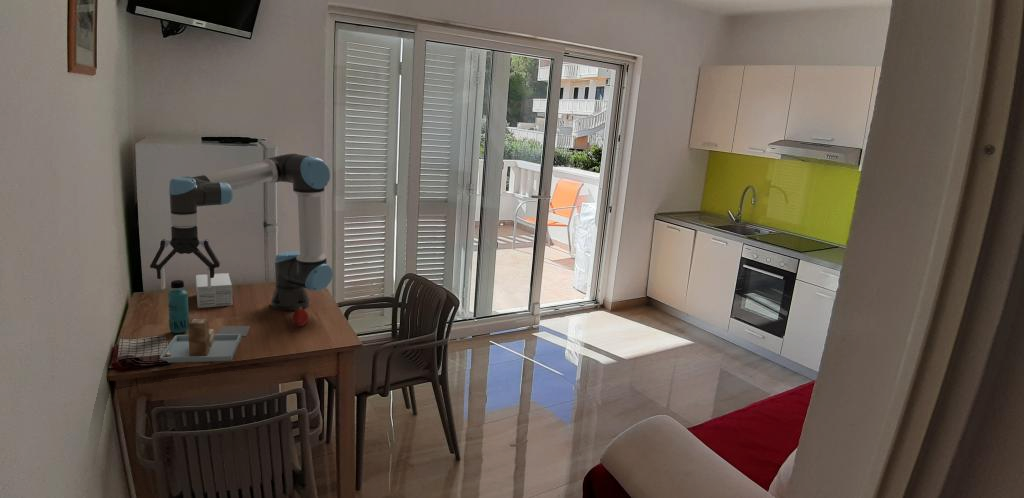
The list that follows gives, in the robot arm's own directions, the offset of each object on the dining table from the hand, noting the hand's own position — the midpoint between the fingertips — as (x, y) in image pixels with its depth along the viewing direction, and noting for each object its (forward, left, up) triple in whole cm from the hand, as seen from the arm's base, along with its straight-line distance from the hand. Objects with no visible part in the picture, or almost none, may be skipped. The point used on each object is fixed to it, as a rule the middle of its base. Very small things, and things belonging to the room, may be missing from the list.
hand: (186, 287), depth 198 cm
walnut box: (-4, +6, -22) cm, 23 cm away
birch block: (-4, -2, -22) cm, 22 cm away
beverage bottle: (+7, -14, -22) cm, 27 cm away
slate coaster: (-11, -14, -22) cm, 29 cm away
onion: (-34, -19, -22) cm, 45 cm away
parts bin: (-4, +2, -22) cm, 23 cm away
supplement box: (+3, -51, -23) cm, 56 cm away
